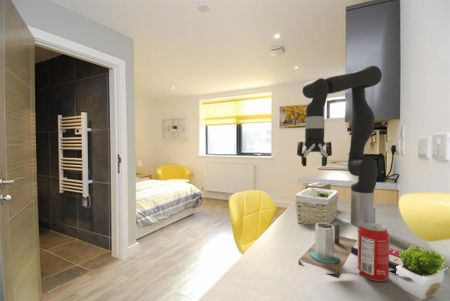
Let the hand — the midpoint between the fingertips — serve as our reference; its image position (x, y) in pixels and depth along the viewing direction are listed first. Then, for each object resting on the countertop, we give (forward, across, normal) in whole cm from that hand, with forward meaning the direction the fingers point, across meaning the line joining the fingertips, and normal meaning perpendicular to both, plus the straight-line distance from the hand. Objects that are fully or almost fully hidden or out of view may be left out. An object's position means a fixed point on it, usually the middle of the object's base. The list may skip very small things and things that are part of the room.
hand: (314, 166), depth 96 cm
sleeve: (+28, -6, -20) cm, 35 cm away
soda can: (+30, +4, -30) cm, 42 cm away
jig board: (+30, -1, -15) cm, 34 cm away
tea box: (+30, +25, +43) cm, 58 cm away
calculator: (+31, +13, -22) cm, 40 cm away
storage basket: (+30, +12, +20) cm, 38 cm away
